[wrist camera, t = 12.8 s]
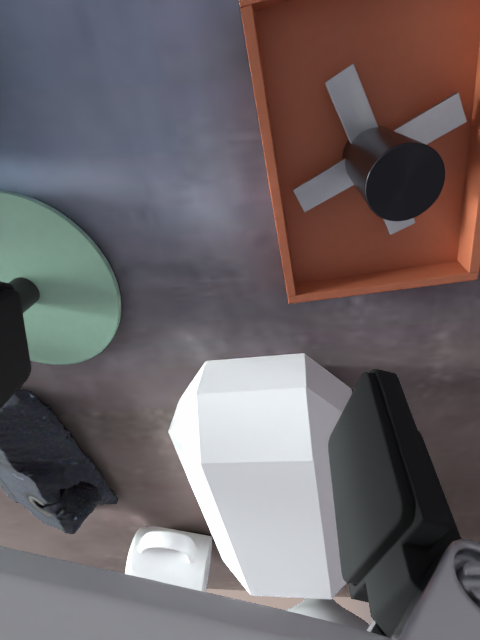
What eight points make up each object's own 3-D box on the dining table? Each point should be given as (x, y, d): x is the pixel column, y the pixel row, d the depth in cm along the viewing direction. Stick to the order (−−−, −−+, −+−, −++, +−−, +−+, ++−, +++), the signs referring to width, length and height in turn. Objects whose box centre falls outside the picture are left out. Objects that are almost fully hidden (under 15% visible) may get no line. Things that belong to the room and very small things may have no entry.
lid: (-103, 208, 28) (-190, 235, 23) (74, 167, 25) (18, 188, 20) (5, 364, 36) (-41, 410, 31) (150, 348, 33) (124, 396, 28)
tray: (242, 2, 19) (237, -9, 17) (500, -78, 17) (531, -101, 15) (288, 288, 28) (288, 304, 26) (462, 264, 25) (478, 280, 23)
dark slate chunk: (59, 373, 36) (31, 409, 32) (126, 503, 47) (111, 541, 43) (-71, 378, 38) (-113, 411, 34) (22, 499, 50) (-1, 535, 46)
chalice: (376, 578, 51) (405, 740, 38) (278, 579, 54) (275, 728, 41) (364, 523, 44) (395, 698, 31) (253, 528, 47) (240, 688, 35)
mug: (212, 556, 53) (201, 624, 46) (149, 546, 53) (129, 613, 46) (212, 510, 46) (199, 582, 39) (140, 500, 47) (115, 569, 40)
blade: (279, 82, 21) (274, 80, 14) (464, 35, 19) (562, 6, 12) (300, 241, 25) (304, 297, 19) (448, 217, 23) (512, 270, 17)
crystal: (365, 418, 21) (368, 617, 36) (344, 327, 29) (353, 520, 44) (138, 428, 24) (226, 610, 38) (176, 343, 32) (236, 519, 46)
